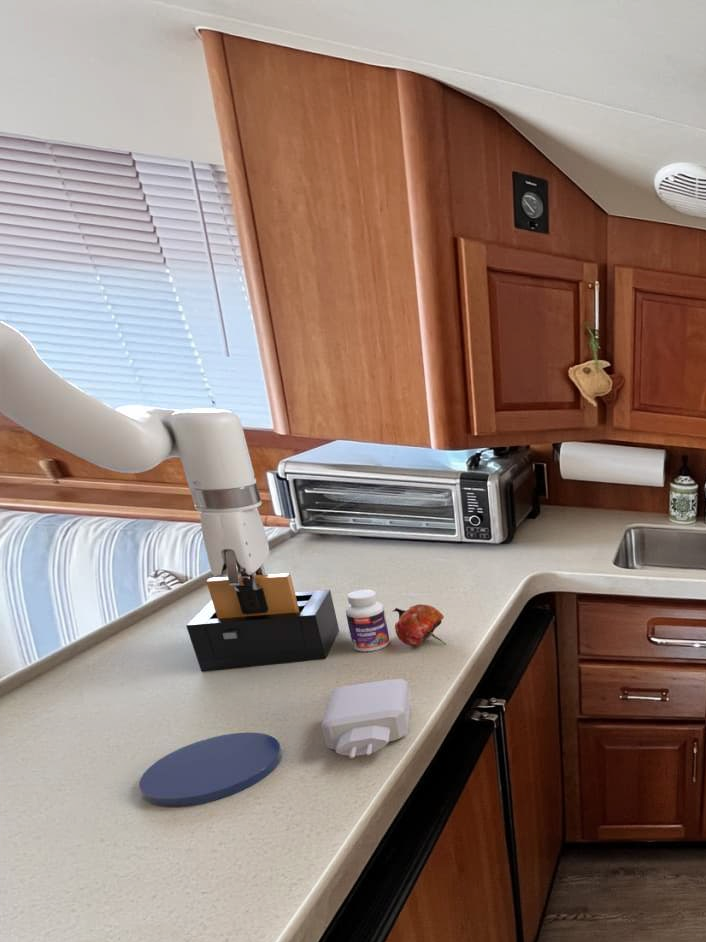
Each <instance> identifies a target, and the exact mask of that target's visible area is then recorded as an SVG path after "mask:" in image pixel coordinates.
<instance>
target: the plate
mask: <svg viewBox="0 0 706 942" xmlns="http://www.w3.org/2000/svg"><path fill="white" fill-rule="evenodd" d="M282 758H283V751H282V747H281V744H280V742H279V740H278V739H276V738H275V737H274V736H272V735H270V734H266V733H263V732H234V733H228V734H227V733H226V734H221V735H217V736H213V737H209V738H205V739H201V740H199V741H196V742H193V743H190V744H188V745H185V746H182V747H180V748H178V749H175V750H174V751H171V752H170V753H168V754H166V755H165V756H162V757H161V758H160V759H158V760H157V761H155V762H154V763H153V764H152V765H150V766H149V767H148V768H147V769H146V770H145V771H144V772H143V773H142V775H141V777H140V778H139V781H138V783H139V784H138V787H139V789H140V793H141V795H142V797H143V798H144V800H145V801H146V802H148V803H150V804H153V805H155V806H159V807H167V808H179V807H190V806H197V805H202V804H206V803H210V802H214V801H217V800H221V799H224V798H226V797H230V796H232V795H236V794H238V793H240V792H242V791H244V790H246V789H248V788H250V787H252V786H253V785H255V784H258V783H259V782H260V781H262V780H264V779H265V778H266V777H267V776H269V775H270V774H271V773H272V772H273V771H274V770H275V769H276V768H277V767H278V766H279V764H280V762H281V761H282Z"/></svg>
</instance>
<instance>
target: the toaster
mask: <svg viewBox="0 0 706 942" xmlns="http://www.w3.org/2000/svg"><path fill="white" fill-rule="evenodd" d="M295 595H296V599H297V603H298V607H299V611H300V612H295V613H283V614H270V615H257V616H245V617H232V618H219V619H218V618H217V615H216V611H215V608H214V605H213V602H212V599H210V600H209V601H208V603H207V604H206V605H205V606H204V607H203V608H201V610H199V612H198V613H197V614H195V616H194V617H193V618H192V619H191V620H190V621H189V622H188V623H187V624H186V630H187V633H188V635H189V639H190V642H191V643H192V644H191V645H192V647H193V650H194V651H193V652H194V654H195V657H196V660H197V663H198V666H199V669H200V672H202V673H204V672H213V671H222V670H223V671H224V670H231V669H241V668H250V667H259V666H260V667H262V666H270V665H279V664H289V663H290V664H291V663H300V662H308V661H318V660H326V659H327V657H328V655H329V653H330V651H331V649H332V647H333V644H334V642H335V641H336V638H337V636H338V635H339V632H340V627H339V623H338V619H337V614H336V610H335V605H334V600H333V596H332V592H331V589H323V590H321V589H320V590H309V591H307V590H306V591H295Z"/></svg>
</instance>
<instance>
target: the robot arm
mask: <svg viewBox="0 0 706 942" xmlns="http://www.w3.org/2000/svg"><path fill="white" fill-rule="evenodd" d="M0 413H1V414H3V415H4V416H5V417H7V418H8V419H10V420H11V421H13V422H14V423H16V424H17V425H19V426H20V427H22V428H23V429H25V430H27V431H28V432H30V433H32V434H33V435H35V436H37V437H39V438H41V439H43V440H45V441H46V442H48V443H51V444H52V445H54V446H56V447H59V448H61V449H62V450H65V451H66V452H68V453H71V454H73V455H74V456H77V457H78V458H81V459H82V460H84V461H87V462H88V463H91V464H93V465H96V466H97V467H100V468H103V469H106V470H110V471H113V472H117V473H122V474H123V473H124V474H138V473H144V472H147V471H150V470H152V469H153V468H156V467H157V466H158V465H159V464H161V463H162V462H164V461H166V460H168V459H171V458H178V459H180V462H181V465H182V468H183V471H184V475H185V479H186V481H187V485H188V488H189V492H190V495H191V499H192V501H193V505H194V509H195V510H196V511H198V512H199V514H200V515H199V517H200V518H199V519H200V525H201V527H200V528H201V533H202V539H203V544H204V548H205V552H206V555H207V560H208V565H209V569H210V572H211V574H212V575H213V576H214V577H215V578H217V577H223V575H224V574H225V573H227V577H228V581H229V585H230V586H234V589H235V591H236V593H237V597H238V600H239V604H240V607H241V611H242V613H243V614H255V613H266V612H267V611H268V606H267V602H266V598H265V594H264V591H263V588H260V587H259V583H258V579H257V576H256V575H267V574H266V570H265V565H264V564H265V562H266V561H267V560H268V559H269V557H270V553H271V552H270V545H269V540H268V537H267V534H266V529H265V526H264V524H263V520H262V517H261V514H260V511H259V509H258V507H260V506H261V505H262V504H263V502H262V499H261V495H260V491H259V487H258V483H257V479H256V475H255V471H254V468H253V464H252V459H251V456H250V452H249V448H248V444H247V440H246V436H245V432H244V428H243V425H242V422H241V421H242V420H241V419H240V418H239V416H238V415H237V414H235V412H232V411H231V410H227V409H218V408H217V409H216V408H191V409H181V410H180V409H169V408H160V407H152V406H143V405H124V406H120V407H117V408H114V407H112V406H111V405H108V404H107V403H105V402H104V401H101V400H100V399H98V398H97V397H94V396H92V394H90V393H88V392H86V391H84V390H83V389H81V388H79V387H78V386H76V385H75V384H73V383H72V382H70V381H68V380H67V379H66V378H64V377H63V376H62V375H60V374H59V373H57V372H56V371H55V370H53V368H51V367H50V366H49V365H48V364H47V363H46V362H45V361H44V360H43V359H42V358H41V356H40V355H39V354H38V352H37V351H36V349H35V347H34V346H33V345H32V343H31V342H30V340H29V339H28V338H27V337H26V336H24V335H23V333H21V332H19V330H17V329H15V328H14V327H12V326H11V325H8V323H5V322H3V321H1V320H0ZM246 576H249V577H250V579H249V578H243V577H246Z"/></svg>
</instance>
